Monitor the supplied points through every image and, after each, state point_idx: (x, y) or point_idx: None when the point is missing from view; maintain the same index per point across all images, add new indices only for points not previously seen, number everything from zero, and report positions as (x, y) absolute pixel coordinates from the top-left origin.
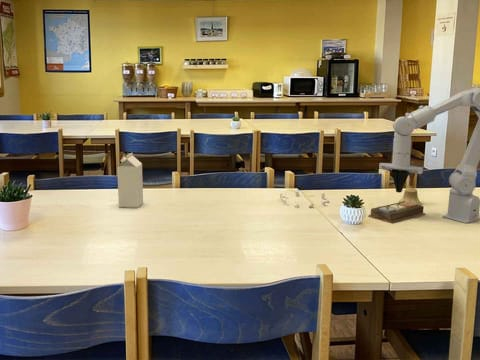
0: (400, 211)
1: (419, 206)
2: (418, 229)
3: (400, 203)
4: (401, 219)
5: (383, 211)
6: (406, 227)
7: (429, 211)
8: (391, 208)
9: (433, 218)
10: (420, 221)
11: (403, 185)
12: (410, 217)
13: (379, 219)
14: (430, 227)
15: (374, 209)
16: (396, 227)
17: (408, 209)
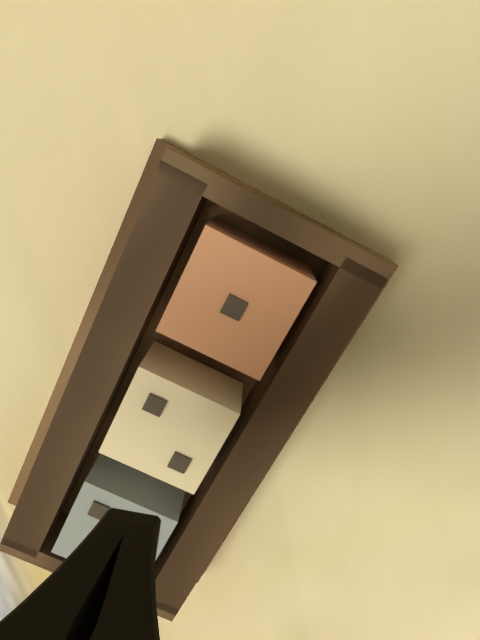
0: (221, 535)
1: (354, 306)
2: (368, 615)
3: (163, 320)
4: (240, 514)
5: None
6: (295, 606)
7: (428, 103)
8: None
9: (463, 337)
10: (367, 457)
11: (154, 585)
12: (291, 432)
13: None
14: (439, 556)
15: (28, 559)
16: (240, 626)
17: (270, 454)
